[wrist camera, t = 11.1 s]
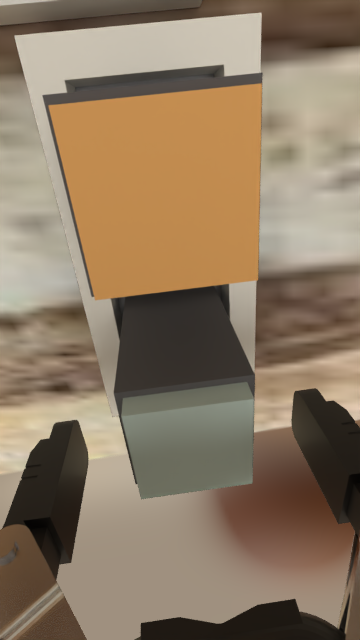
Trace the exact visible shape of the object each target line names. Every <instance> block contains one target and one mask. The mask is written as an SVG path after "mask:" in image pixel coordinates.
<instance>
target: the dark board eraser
mask: <svg viewBox="0 0 360 640" xmlns="http://www.w3.org/2000/svg"><path fill="white" fill-rule="evenodd" d="M254 392H255V374H254V372H253V370H252V367H251V365H250V363H249V361H248V359H247V356H246V354H245V352H244V350H243V348H242V346H241V343H240V341H239V339H238V337H237V335H236V332H235V330H234V328H233V326H232V324H231V322H230V319H229V317H228V315H227V313H226V311H225V308H224V306H223V304H222V302H221V300H220V298H219V295H218V293H217V291H216V289H215V287H214V286H207V287H199V288H191V289H183V290H175V291H167V292H159V293H151V294H143V295H135V296H127V297H125V303H124V311H123V320H122V328H121V336H120V344H119V352H118V361H117V369H116V377H115V385H114V397H115V401H116V405H117V409H118V414H119V418H120V422H121V426H122V430H123V434H124V438H125V442H126V446H127V450H128V454H129V458H130V463H131V466H132V470H133V475H134V479H135V483H136V484H138V488H139V492H140V496H141V499H146V498H153V497H160V496H166V495H174V494H180V493H188V492H194V491H202V490H209V489H216V488H223V487H229V486H237V485H244V484H251V483H252V476H253V474H252V473H253V441H254V439H253V438H254Z"/></svg>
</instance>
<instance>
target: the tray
mask: <svg viewBox="0 0 360 640" xmlns="http://www.w3.org/2000/svg"><path fill="white" fill-rule="evenodd" d="M201 3H202V0H0V26H1V25H11V24H22V23H33V22H44V21H55V20H66V19H77V18H87V17H98V16H109V15H120V14H131V13H142V12H152V11H163V10H174V9H185V8H196V7H200V5H201Z"/></svg>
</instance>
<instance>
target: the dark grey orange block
mask: <svg viewBox="0 0 360 640" xmlns="http://www.w3.org/2000/svg"><path fill="white" fill-rule="evenodd" d="M42 96H43V100H44V104H45V108H46V112H47V117H48V121H49V125H50V129H51V133H52V137H53V141H54V145H55V149H56V153H57V157H58V162H59V166H60V170H61V174H62V178H63V182H64V186H65V190H66V194H67V198H68V203H69V207H70V211H71V215H72V219H73V223H74V227H75V231H76V235H77V239H78V243H79V248H80V252H81V256H82V260H83V264H84V268H85V272H86V276H87V280H88V284H89V289H90V293H91V297H94V298H95V300H102V299H110V298H118V297H127V296H135V295H143V294H151V293H159V292H167V291H175V290H183V289H191V288H199V287H207V286H215V285H224V284H232V283H240V282H248V281H256V280H258V266H259V217H260V168H261V119H262V73H253V74H243V75H234V76H224V77H214V78H204V79H195V80H185V81H175V82H165V83H156V84H146V85H136V86H126V87H116V88H107V89H97V90H87V91H77V92H68V93H58V94H48V95H42Z"/></svg>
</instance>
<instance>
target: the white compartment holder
mask: <svg viewBox="0 0 360 640" xmlns="http://www.w3.org/2000/svg"><path fill="white" fill-rule="evenodd" d="M261 14H262V13H252V14H241V15H230V16H220V17H209V18H198V19H188V20H177V21H166V22H155V23H145V24H134V25H123V26H113V27H102V28H91V29H81V30H70V31H59V32H48V33H38V34H27V35H16V36H14V37H15V41H16V45H17V49H18V53H19V56H20V60H21V64H22V68H23V72H24V76H25V80H26V84H27V88H28V91H29V95H30V99H31V103H32V107H33V111H34V115H35V119H36V122H37V126H38V130H39V134H40V138H41V142H42V146H43V150H44V153H45V157H46V161H47V165H48V169H49V173H50V177H51V181H52V185H53V188H54V192H55V196H56V200H57V204H58V208H59V212H60V216H61V219H62V223H63V227H64V231H65V235H66V239H67V243H68V247H69V250H70V254H71V258H72V262H73V266H74V270H75V274H76V278H77V281H78V285H79V289H80V293H81V297H82V301H83V305H84V309H85V313H86V316H87V320H88V324H89V328H90V332H91V336H92V340H93V344H94V347H95V351H96V355H97V359H98V363H99V367H100V371H101V375H102V378H103V382H104V386H105V390H106V394H107V398H108V402H109V406H110V409H111V413H112V417H115V416H119V414H118V409H117V405H116V401H115V397H114V385H115V377H116V369H117V361H118V352H119V344H120V336H121V328H122V320H123V311H124V303H125V297H118V298H110V299H102V300H95V298H94V297H91V293H90V289H89V284H88V280H87V276H86V272H85V268H84V264H83V260H82V256H81V252H80V248H79V243H78V239H77V235H76V231H75V227H74V223H73V219H72V215H71V211H70V207H69V203H68V198H67V194H66V190H65V186H64V182H63V178H62V174H61V170H60V166H59V162H58V157H57V153H56V149H55V145H54V141H53V137H52V133H51V129H50V125H49V121H48V117H47V112H46V108H45V104H44V100H43V96H42V95H48V94H58V93H68V92H77V91H87V90H97V89H107V88H116V87H126V86H136V85H146V84H156V83H165V82H175V81H185V80H195V79H204V78H214V77H224V76H234V75H243V74H253V73H260V65H261ZM214 287H215V289H216V291H217V293H218V295H219V298H220V300H221V302H222V304H223V306H224V308H225V311H226V313H227V315H228V317H229V319H230V322H231V324H232V326H233V328H234V330H235V332H236V335H237V337H238V339H239V341H240V343H241V346H242V348H243V350H244V352H245V354H246V356H247V359H248V361H249V363H250V365H251V367H252V370H253V372H254V371H255V320H256V281H248V282H240V283H232V284H224V285H215V286H214Z"/></svg>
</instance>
